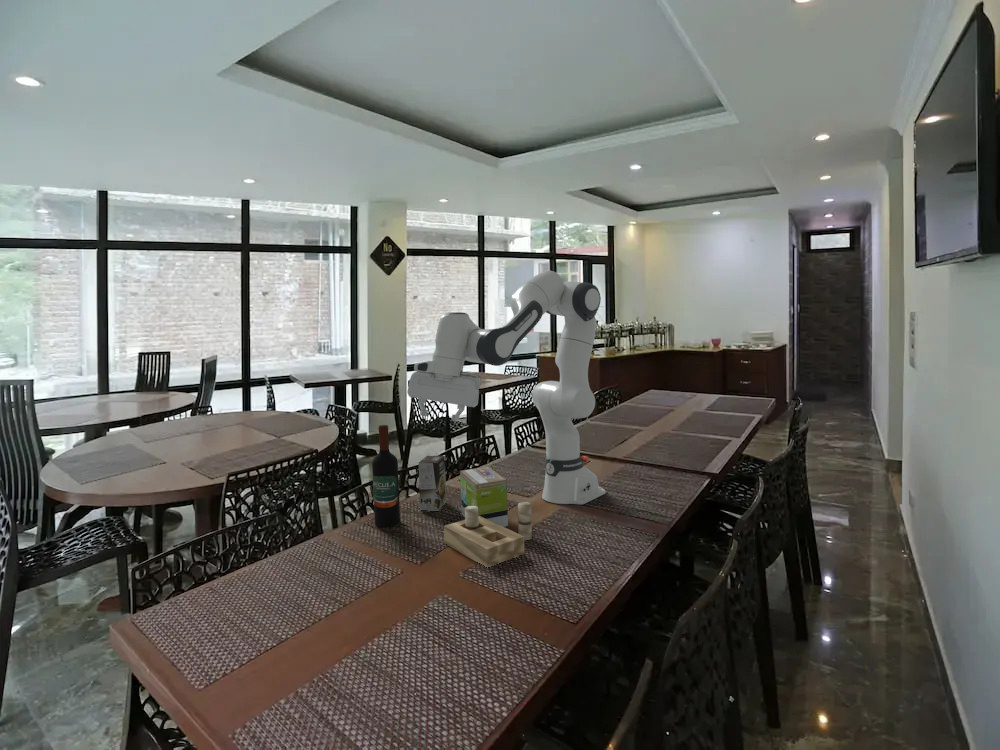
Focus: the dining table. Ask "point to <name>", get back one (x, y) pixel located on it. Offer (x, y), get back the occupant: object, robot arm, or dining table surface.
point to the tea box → (485, 494)
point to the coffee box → (432, 483)
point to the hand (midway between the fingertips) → (439, 418)
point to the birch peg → (524, 520)
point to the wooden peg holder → (483, 539)
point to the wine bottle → (385, 484)
